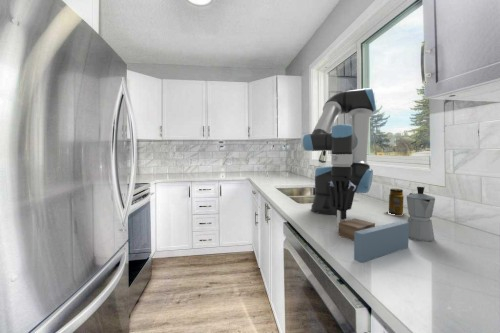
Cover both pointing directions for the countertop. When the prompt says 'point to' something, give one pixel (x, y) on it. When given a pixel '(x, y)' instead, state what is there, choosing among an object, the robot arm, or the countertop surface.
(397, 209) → the condiment
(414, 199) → the coffee maker
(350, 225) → the walnut block
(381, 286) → the countertop surface
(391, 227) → the slate board
